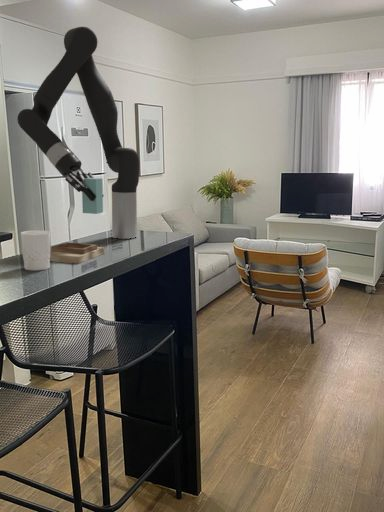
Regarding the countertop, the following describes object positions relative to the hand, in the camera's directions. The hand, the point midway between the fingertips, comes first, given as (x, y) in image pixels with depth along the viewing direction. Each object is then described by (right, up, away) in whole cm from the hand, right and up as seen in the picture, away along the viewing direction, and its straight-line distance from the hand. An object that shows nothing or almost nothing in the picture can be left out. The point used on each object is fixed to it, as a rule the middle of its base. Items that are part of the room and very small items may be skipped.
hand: (97, 198), depth 164 cm
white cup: (-13, -22, -23) cm, 34 cm away
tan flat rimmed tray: (-6, -19, -8) cm, 21 cm away
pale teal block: (-2, -4, +1) cm, 5 cm away
